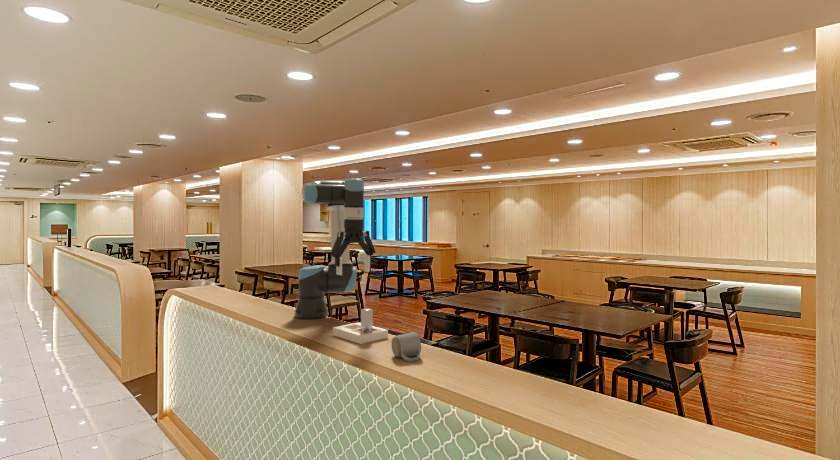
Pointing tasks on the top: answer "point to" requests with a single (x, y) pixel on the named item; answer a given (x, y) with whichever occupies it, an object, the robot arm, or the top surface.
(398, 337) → the ceramic mug
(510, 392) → the top surface
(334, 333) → the pin board
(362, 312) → the pin
